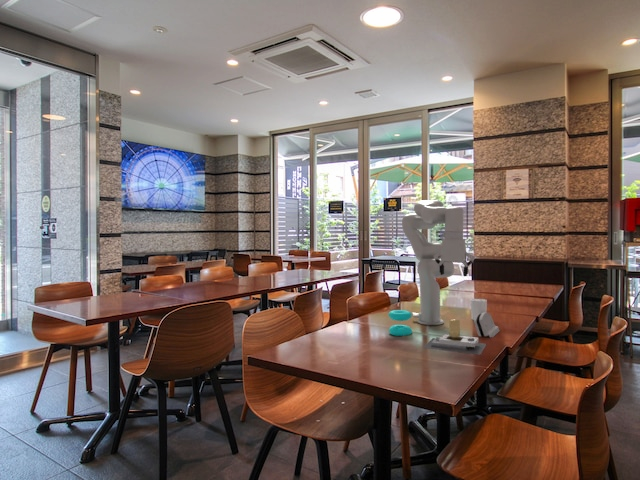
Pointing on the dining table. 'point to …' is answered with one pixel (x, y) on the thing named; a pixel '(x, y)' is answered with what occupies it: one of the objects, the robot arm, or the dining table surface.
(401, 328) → the donuts
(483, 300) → the white cup
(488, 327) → the white slotted device
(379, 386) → the dining table surface
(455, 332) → the brass pin
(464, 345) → the grey block with hole
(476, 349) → the mat
